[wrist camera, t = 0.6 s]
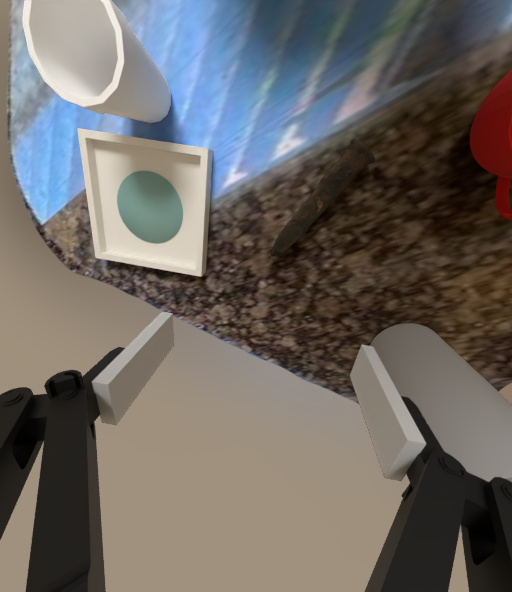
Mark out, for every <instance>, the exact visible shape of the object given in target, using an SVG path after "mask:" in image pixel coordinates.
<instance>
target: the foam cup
mask: <svg viewBox="0 0 512 592" xmlns="http://www.w3.org/2000/svg"><path fill="white" fill-rule="evenodd" d="M22 22H23V27H24V32H25V36H26V41H27V46H28V50H29V54H30V55H31V57H32V59H33V61H34V63H35V65H36V67H37V69H38V70H39V72H40V74H41V76H42V78H43V80H44V81H45V82H46V83H47V84H48V85H49V86H50V87H51V88H52V89H53V90H54V91H55V92H56V93H57V94H59V95H60V96H61V97H62V98H63V99H64V100H67V101H69V102H72V103H74V104H76V105H79V106H81V107H84V108H86V109H89V110H91V111H94V112H97V113H99V114H104V113H108V114H112V115H117V116H121V117H126V118H130V119H135V120H139V121H143V122H148V123H155V122H160V121H161V120H162V119H164V118H165V117H166V116H167V115H168V112H169V109H170V106H171V91H170V88H169V85H168V83H167V80H166V79H165V77H164V75H163V74H162V72H161V71H160V69H159V68H158V67H157V65H156V64H155V62H154V61H153V59H152V58H151V56H150V55H149V54H148V52H147V51H146V49H145V48H144V46H143V45H142V43H141V42H140V41H139V39H138V38H137V36H136V35H135V33H134V32H133V30H132V29H131V28H130V26H129V24H128V22H127V19H126V17H125V15H124V14H123V13H122V12H121V11H120V10H119V9H118V8H117V6H116V5H115V4H114V3H113V2H112V1H111V0H25V1H24V10H23V19H22Z"/></svg>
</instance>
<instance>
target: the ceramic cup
mask: <svg viewBox="0 0 512 592" xmlns="http://www.w3.org/2000/svg"><path fill="white" fill-rule="evenodd" d="M470 148H471V152H472V154H473V157H474V159H475V160H476V161H477V162H478V164H479V165H480V166H481V167H483V168H484V169H485V170H487V171H488V172H490V173H493V174H495V175H498V180H497V186H496V194H495V204H496V208H497V210H498V212H499V214H500V215H501V216H502V217H504V218H507V219H512V210H511V208H510V206H509V187H510V182H511V179H512V70H511V71H510V72H509V73H508V74H507V75H506V76H505V77H503V78H502V79H501V80H500V81H499V82H498V83H497V85H496V86H495V87H494V88H493V89H492V91H491V92H490V93H489V94H488V96H487V97H486V98H485V100H484V101H483V103H482V105H481V106H480V108H479V110H478V111H477V113H476V116H475V118H474V121H473V123H472V127H471V131H470Z"/></svg>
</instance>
